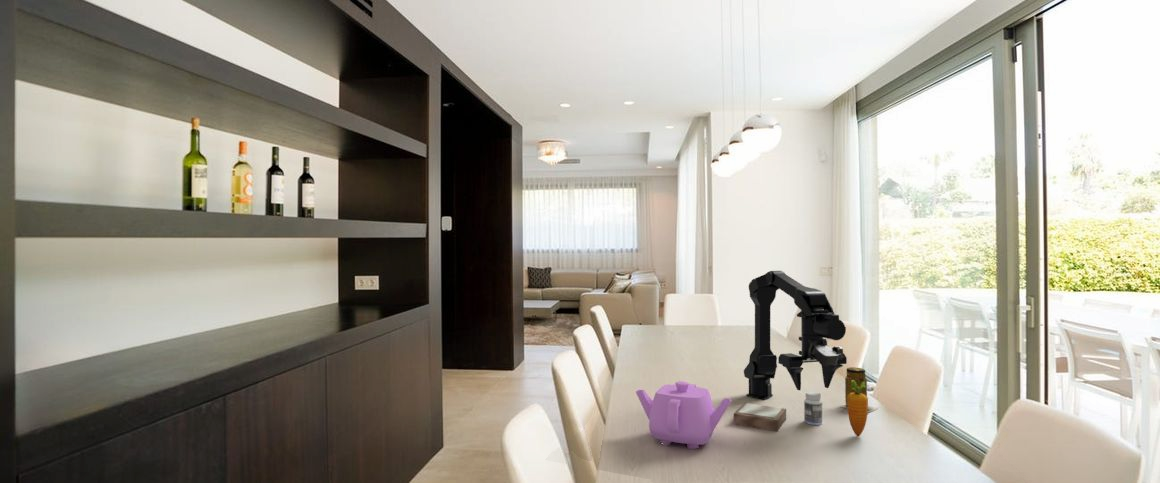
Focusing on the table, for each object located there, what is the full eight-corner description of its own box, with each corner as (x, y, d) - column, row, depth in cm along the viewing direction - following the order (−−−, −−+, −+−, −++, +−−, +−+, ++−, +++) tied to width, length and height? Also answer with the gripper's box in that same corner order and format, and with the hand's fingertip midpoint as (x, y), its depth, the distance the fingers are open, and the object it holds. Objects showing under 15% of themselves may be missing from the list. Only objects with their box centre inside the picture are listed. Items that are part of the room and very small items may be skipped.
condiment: (850, 402, 172) (849, 365, 172) (878, 408, 165) (877, 370, 166) (839, 407, 167) (839, 368, 167) (868, 413, 161) (867, 373, 161)
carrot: (866, 434, 143) (866, 378, 143) (870, 440, 138) (869, 382, 138) (846, 432, 144) (845, 376, 145) (848, 438, 140) (848, 381, 140)
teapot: (735, 447, 134) (734, 387, 135) (673, 458, 127) (672, 395, 128) (690, 424, 152) (689, 371, 152) (634, 433, 145) (633, 377, 145)
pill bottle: (801, 420, 155) (801, 391, 155) (816, 419, 155) (816, 390, 155) (809, 425, 150) (809, 395, 150) (825, 425, 151) (825, 395, 151)
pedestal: (733, 424, 152) (733, 412, 152) (744, 412, 162) (744, 401, 162) (777, 431, 146) (777, 419, 146) (786, 419, 156) (786, 407, 156)
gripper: (801, 340, 143) (802, 399, 143) (860, 337, 147) (861, 394, 147) (777, 334, 154) (777, 388, 154) (832, 331, 158) (833, 384, 158)
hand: (812, 388), depth 153 cm, fingers open, 9 cm apart
